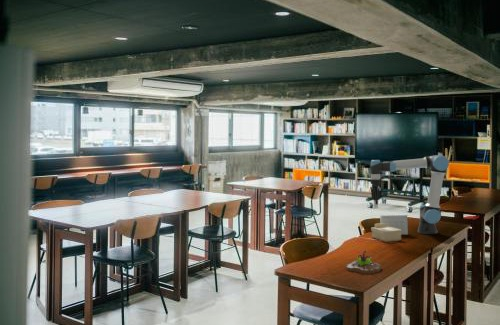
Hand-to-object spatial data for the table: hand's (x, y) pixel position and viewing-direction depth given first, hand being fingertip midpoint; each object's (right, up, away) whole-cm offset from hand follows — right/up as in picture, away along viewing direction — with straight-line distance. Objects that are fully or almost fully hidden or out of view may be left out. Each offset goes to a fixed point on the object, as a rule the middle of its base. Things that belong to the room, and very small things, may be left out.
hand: (375, 208), depth 369 cm
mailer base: (+5, -23, -12) cm, 26 cm away
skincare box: (+16, -22, +5) cm, 28 cm away
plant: (-33, -28, -94) cm, 103 cm away
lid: (+5, -17, -13) cm, 22 cm away
